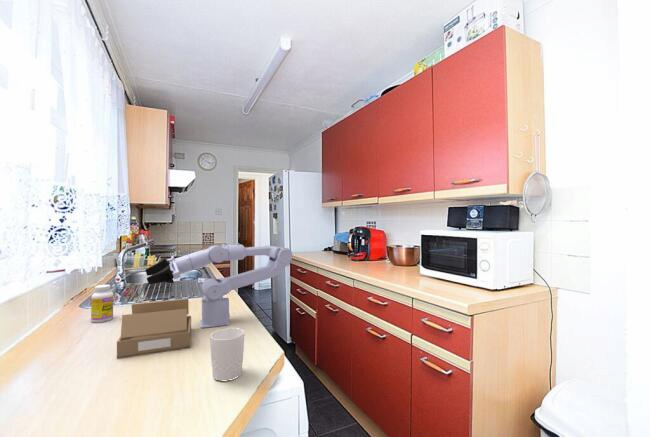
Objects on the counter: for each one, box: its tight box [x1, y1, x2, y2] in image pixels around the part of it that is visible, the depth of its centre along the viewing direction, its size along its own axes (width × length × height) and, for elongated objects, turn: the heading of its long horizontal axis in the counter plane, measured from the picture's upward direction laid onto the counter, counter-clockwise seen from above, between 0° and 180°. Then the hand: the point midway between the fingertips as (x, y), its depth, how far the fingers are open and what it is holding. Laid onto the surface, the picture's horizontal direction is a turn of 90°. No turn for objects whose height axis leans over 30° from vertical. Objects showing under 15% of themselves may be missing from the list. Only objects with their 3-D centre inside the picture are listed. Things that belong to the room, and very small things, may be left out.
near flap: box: [120, 309, 188, 338], centre depth 87 cm, size 16×6×1 cm
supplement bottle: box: [90, 284, 114, 324], centre depth 114 cm, size 7×7×13 cm
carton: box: [116, 315, 192, 359], centre depth 94 cm, size 18×17×4 cm
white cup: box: [209, 327, 245, 380], centre depth 74 cm, size 8×8×10 cm
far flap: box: [131, 298, 190, 315], centre depth 100 cm, size 16×6×1 cm
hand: (146, 276), depth 100 cm, fingers open, 7 cm apart
